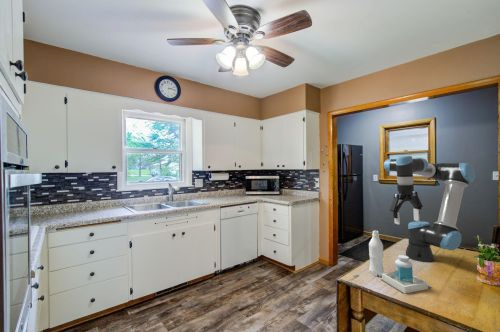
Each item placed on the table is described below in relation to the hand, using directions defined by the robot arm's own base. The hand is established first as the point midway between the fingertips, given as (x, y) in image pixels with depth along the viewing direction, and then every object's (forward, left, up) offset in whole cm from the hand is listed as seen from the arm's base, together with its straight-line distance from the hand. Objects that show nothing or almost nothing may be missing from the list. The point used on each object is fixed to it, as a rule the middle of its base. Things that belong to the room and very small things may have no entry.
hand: (407, 222), depth 129 cm
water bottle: (+16, -6, -30) cm, 34 cm away
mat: (+10, +7, -30) cm, 32 cm away
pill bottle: (+11, +7, -29) cm, 31 cm away
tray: (+11, +7, -29) cm, 32 cm away
